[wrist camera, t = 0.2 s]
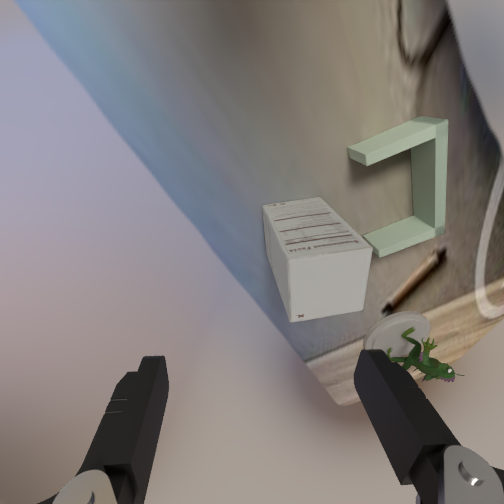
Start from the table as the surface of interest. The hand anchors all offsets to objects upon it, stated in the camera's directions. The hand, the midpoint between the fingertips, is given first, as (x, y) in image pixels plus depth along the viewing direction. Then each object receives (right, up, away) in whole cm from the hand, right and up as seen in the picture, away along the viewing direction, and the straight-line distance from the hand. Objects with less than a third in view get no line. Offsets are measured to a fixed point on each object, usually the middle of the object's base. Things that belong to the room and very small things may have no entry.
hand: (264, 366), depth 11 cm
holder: (+16, +13, +22) cm, 30 cm away
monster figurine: (+26, -10, +38) cm, 47 cm away
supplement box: (+5, +8, +23) cm, 25 cm away
